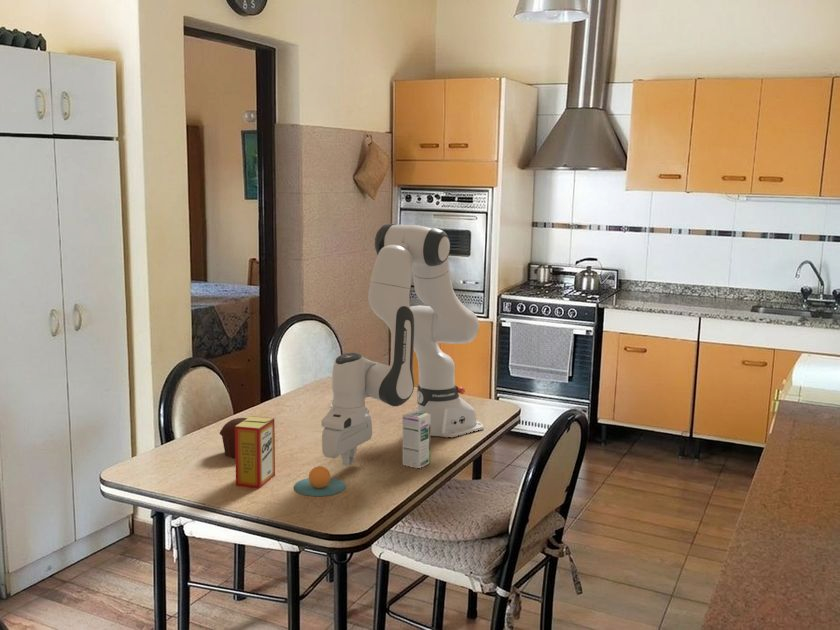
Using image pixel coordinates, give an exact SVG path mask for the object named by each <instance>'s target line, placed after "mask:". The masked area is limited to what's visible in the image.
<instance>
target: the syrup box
mask: <svg viewBox="0 0 840 630" xmlns="http://www.w3.org/2000/svg"><path fill="white" fill-rule="evenodd" d="M431 438H432V437H431V414H430V413H427V412H423V411H417V410H412V411H411V412H408V413H406V414H403V415H402V465H403V466H405V465H406V467H408V466H412V467H416V468H415V469H417V468H420V469H422V468H423V467H425V466H427V465H430V464H431V440H432V439H431ZM429 463H430V464H429ZM412 467H411V468H412ZM421 467H422V468H421Z"/></svg>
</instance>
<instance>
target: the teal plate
mask: <svg viewBox="0 0 840 630" xmlns="http://www.w3.org/2000/svg"><path fill="white" fill-rule="evenodd" d="M346 487H347V486H346V482H344V481H343V480H341V479H339V478H335V477H331V478H330V482H329V484H328V485H327V486H326V487H324V488H315V487H313V486H312V485H311V484H310V482H309V477H307V478H303V479H301V480H299V481H297V482H295V484H294V486H293V489H294V491H295V492H296V493H298V494H299V495H303V496H308V497H329V496H334V495H337V494H339V493H341V492H343V491H344V490H345V489H346Z"/></svg>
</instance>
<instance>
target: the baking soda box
mask: <svg viewBox="0 0 840 630" xmlns="http://www.w3.org/2000/svg"><path fill="white" fill-rule="evenodd" d="M247 418H248V419H246V420H244V421H243V422H241V423H239V424H238V425H236V426H235V458H234V460H235V461H234V462H235V486H236V487H244V488H251V489H252V488H253V489H261V488H262V487H263V486H265V485H266V484H267V483H269V481H270V480H272V479H273V478H274V477H276V454H275V453H276V444H275V443H276V441H275V440H276V439H275V437H276V436H275V435H276V434H275V429H276V428H275V418H274V417H265V416H264V417H263V416H253V415H251V416H248V417H247ZM271 478H272V479H271Z"/></svg>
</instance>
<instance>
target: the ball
mask: <svg viewBox="0 0 840 630" xmlns="http://www.w3.org/2000/svg"><path fill="white" fill-rule="evenodd" d="M308 478H309V482H310V484H311V485H312V486H313V487H315V488H324V487H326V486H327V485H328V484H329V482H330V478H332V477H331V472H330V471H329V469H328V468H326V467H324V466H322V465H321V466H320V465H319V466H315V467H313V468H312V469H311V470H310V472H309V474H308Z"/></svg>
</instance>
